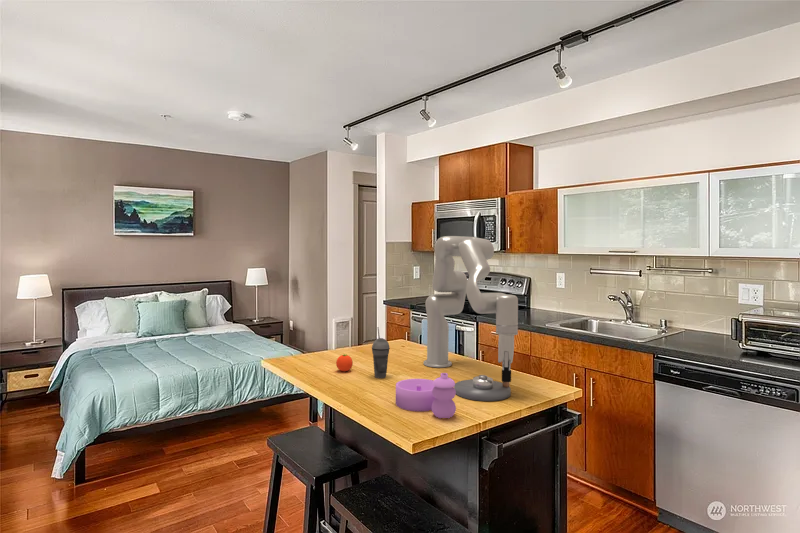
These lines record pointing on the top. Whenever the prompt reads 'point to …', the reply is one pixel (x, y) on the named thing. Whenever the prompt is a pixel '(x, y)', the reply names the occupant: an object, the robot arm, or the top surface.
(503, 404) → the top surface
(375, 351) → the beverage cup
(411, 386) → the container set
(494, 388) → the grey domed disc
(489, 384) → the cover
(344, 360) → the tomato
